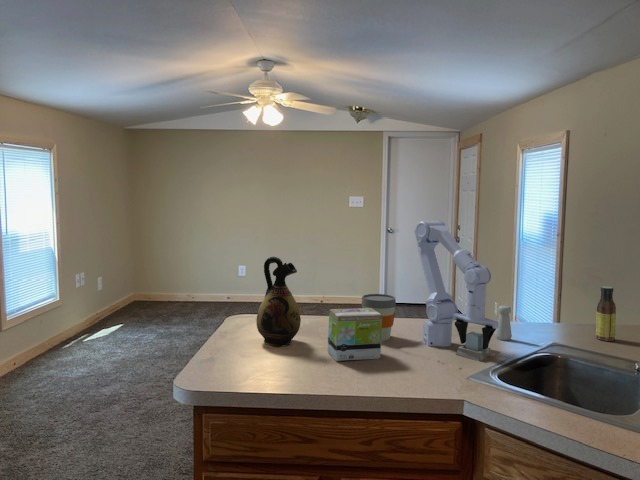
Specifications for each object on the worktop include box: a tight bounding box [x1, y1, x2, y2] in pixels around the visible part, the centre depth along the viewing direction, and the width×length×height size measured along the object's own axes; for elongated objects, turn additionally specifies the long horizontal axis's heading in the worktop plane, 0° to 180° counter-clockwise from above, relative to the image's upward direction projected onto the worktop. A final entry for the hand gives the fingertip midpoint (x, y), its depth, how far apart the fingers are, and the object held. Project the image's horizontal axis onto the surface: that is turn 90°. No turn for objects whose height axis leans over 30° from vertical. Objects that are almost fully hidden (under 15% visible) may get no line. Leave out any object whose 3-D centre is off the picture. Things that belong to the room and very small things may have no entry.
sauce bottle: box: [595, 285, 617, 342], centre depth 180 cm, size 7×6×20 cm
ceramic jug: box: [255, 256, 302, 348], centre depth 168 cm, size 17×15×30 cm
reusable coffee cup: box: [361, 293, 397, 342], centre depth 177 cm, size 13×13×15 cm
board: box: [455, 343, 501, 362], centre depth 159 cm, size 14×9×4 cm, turn 135°
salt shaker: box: [494, 305, 513, 342], centre depth 175 cm, size 6×6×13 cm
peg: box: [465, 331, 483, 352], centre depth 156 cm, size 4×4×7 cm
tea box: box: [327, 307, 382, 362], centre depth 156 cm, size 15×10×15 cm, turn 105°
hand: (474, 345), depth 156 cm, fingers open, 7 cm apart
